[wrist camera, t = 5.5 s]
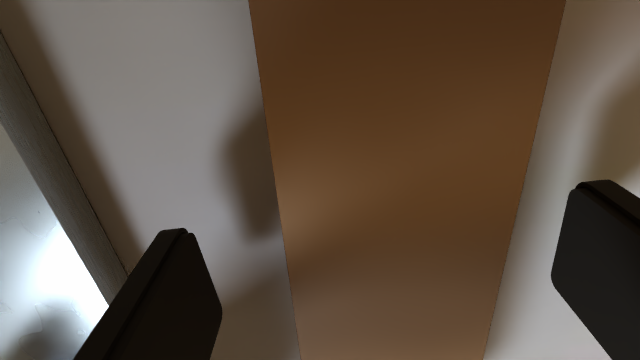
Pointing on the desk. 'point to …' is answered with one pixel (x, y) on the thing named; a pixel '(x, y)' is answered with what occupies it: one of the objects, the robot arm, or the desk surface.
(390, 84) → the brown tall rectangular block
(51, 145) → the bracket stand
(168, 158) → the desk surface
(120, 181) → the desk surface
